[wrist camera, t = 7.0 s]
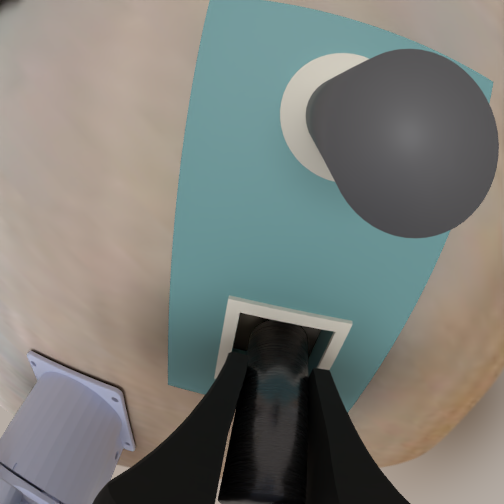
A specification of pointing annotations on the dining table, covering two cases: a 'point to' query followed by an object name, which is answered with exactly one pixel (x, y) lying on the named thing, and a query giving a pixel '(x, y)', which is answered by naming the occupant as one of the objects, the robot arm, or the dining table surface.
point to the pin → (270, 421)
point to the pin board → (317, 185)
